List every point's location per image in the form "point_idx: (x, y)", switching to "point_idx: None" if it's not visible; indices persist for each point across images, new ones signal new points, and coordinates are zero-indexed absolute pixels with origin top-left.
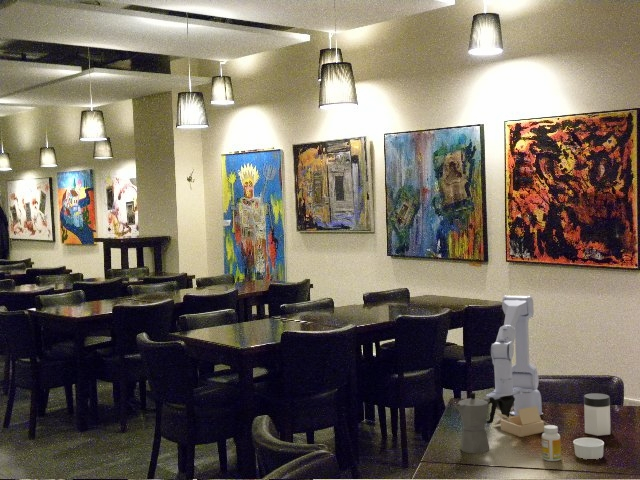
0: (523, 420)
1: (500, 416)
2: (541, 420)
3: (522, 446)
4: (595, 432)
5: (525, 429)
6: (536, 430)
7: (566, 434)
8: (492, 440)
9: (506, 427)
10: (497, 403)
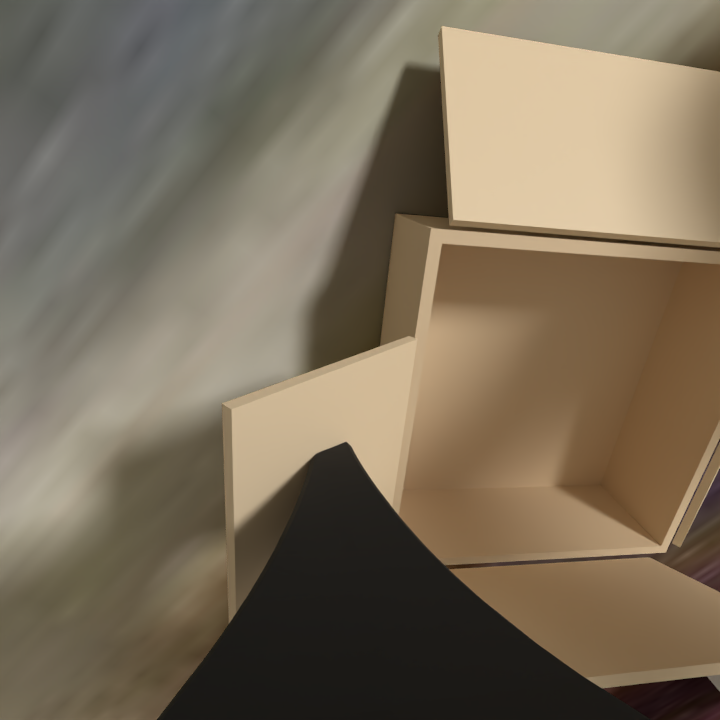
0: None
1: (317, 401)
2: (685, 524)
3: (202, 647)
4: (716, 679)
5: (433, 533)
6: (542, 505)
7: None
8: (69, 440)
9: (393, 331)
10: (187, 692)
